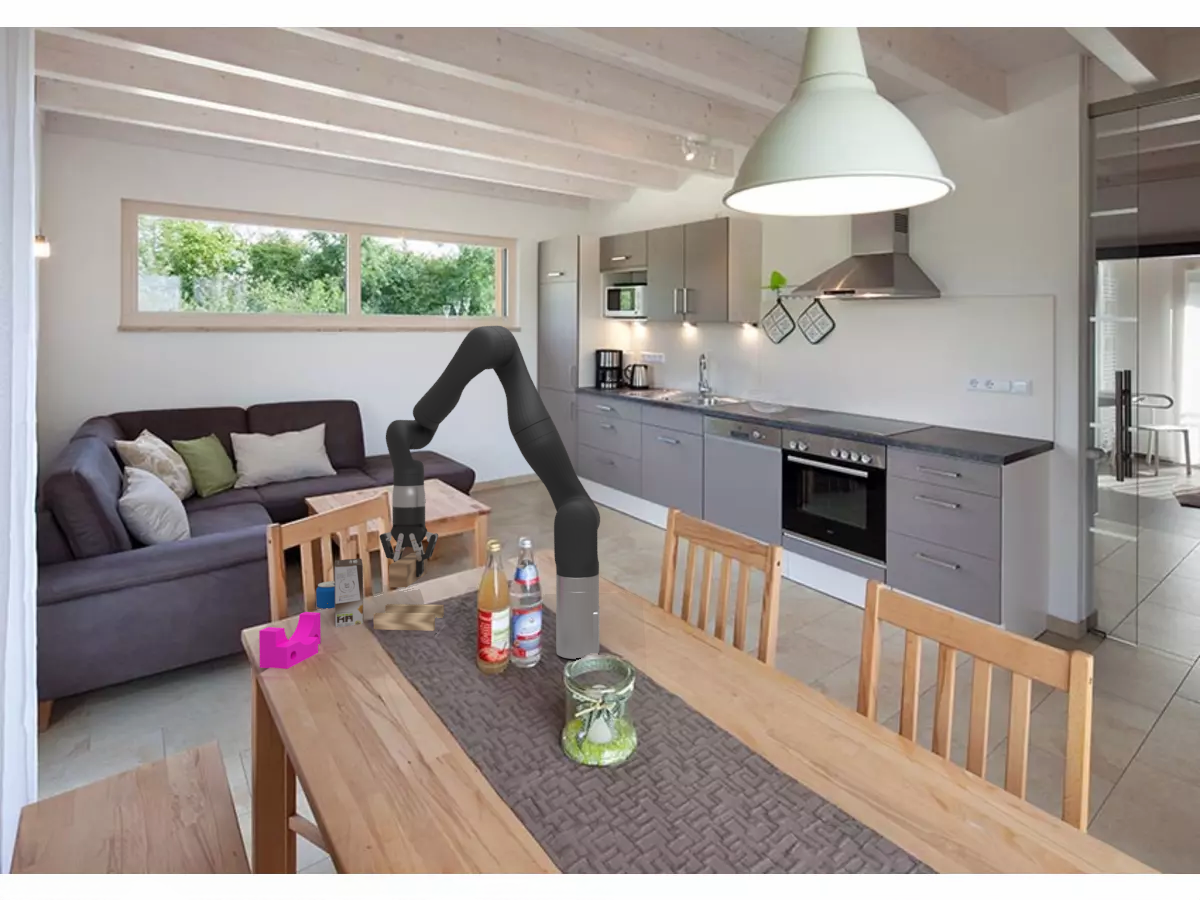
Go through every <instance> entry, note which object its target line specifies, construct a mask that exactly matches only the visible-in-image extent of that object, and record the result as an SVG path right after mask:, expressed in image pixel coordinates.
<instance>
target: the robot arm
mask: <svg viewBox="0 0 1200 900" xmlns="http://www.w3.org/2000/svg"><path fill="white" fill-rule="evenodd" d="M492 369H493V371H494V373H495V375H496V376H497V378H498V380H499V382H500V384H501V385H502V386H501V387H502V389H503V391H504V393H505V399H506V408H507V409H506V411H507V421H508V427H509V430H510V433H511V435H512V437H513V439H514V441H515V444H516V445H517V448H518V449H519V451H520V453H521V455H522V457H523V458H524V460H525V462H526V463H527V464H528V466H530V468H531V469H532V471H533V472H534V473H535V475H536V476H537V477H538V478H539V479H540V480H541V482H542V484H543V485H544V486H545V488H546V490H547V491H548V494H549V496H550V497H551V500H552V503H553V505H554V509H555V510H556V514H555V516H554V520H553V521H554V523H553V548H554V550H553V551H554V554H553V555H554V556H553V557H554V563H555V569H556V570H555V573H556V574H555V579H556V580H555V582H556V583H555V584H556V585H555V586H556V587H555V589H556V590H555V591H556V592H555V593H556V595H555V599H556V601H555V605H556V606H555V607H556V609H555V615H556V616H555V618H556V620H555V625H556V627H555V633H556V634H555V635H556V636H555V638H556V639H555V640H556V641H555V647H556V651H555V652H556V655H557V656H559V657H562V658H564V659H571V660H577V659H576V658H579V657H582V656H584V655H586V654H590V653H599V654H600V598H599V597H600V592H599V591H600V562H599V555H598V530H599V527H600V523H601V515H600V511H599V509H598V507H597V506H596V504H595V502H594V501H593V499H592V498H591V497H590V495H589V493H588V492H587V491H586V489H585V487H584V485H583V484H582V481H580V479H579V477H578V475H577V473H576V471H575V469H574V467H573V464H572V462H571V459H570V455H569V454H568V451H567V449H566V446H565V445H564V442H563V440H562V437H561V435H560V433H559V431H558V428H557V427H556V425H555V422H554V421H553V419H552V417H551V415H550V414H549V411H548V410H547V408H546V406H545V404H544V402H543V400H542V398H541V395H540V394H539V392H538V389H537V387H536V385H535V383H534V382H533V380H532V377H531V375H530V372H529V370H528V367H527V365H526V362H525V359H524V356H523V353H522V351H521V348H520V346H519V343H518V341H517V339H516V337H515V336H514V334H513V333H512V331H510V329H508V328H507V327H504V326H502V325H486V326H485V325H483V326H477V327H475V328H473V329H471V330H470V331H469V332H468V333H467V334H466V336H465V337H464V338H463V340H462V342H461V343H460V345H459V347H458V348H457V350H456V351H455V353H454V355H453V356H452V358H451V359H450V361H449V362H448V364H447V365H446V367H445V369H444V370H443V372H442V373H441V375H440V376H439V377H438V378H437V380H436V381H435V382H434V383H433V384H432V385H431V387H430V388H429V389H428V390H427V391H426V392H425V393H424V394H423V396H422V397H421V398H420V399H419V400H418V401H417V402H416V404H415V405H414V406H413V409H412V416H413V418H414V419H395V420H393V421H391V422H390V423H389V424H388V426H387V429H386V432H385V442H386V446H387V450H388V451H387V452H388V454H389V456H390V461H391V465H392V469H393V470H392V471H393V472H392V473H393V477H392V478H393V480H392V481H393V484H392V485H393V488H392V497H391V498H392V500H391V501H392V511H391V512H392V528H391V530H390V531H388V532H384V533H381V534H380V535H379V540H380V542H381V545H382V548H383V552H384V555H385V557H386V558H387V559H391V560H392V561H393V563H394V562H396V561H398V560H399V559H401V558H403V553H404V551H405V549H406V548H412V549H413V553H415V554H416V558H417V561H416V577H420V576H421V575H422V574H423V572H424V560H425V559H427V560H428V559H430V558H431V557H432V556H433V554H434V550H435V547H436V544H437V541H438V538H439V534H438V533H436V532H435V533H433V532H430V531H428V529H427V526H426V502H427V501H426V500H427V499H426V491H425V490H426V489H425V465H424V463H423V461H420V460H418V459H415V458H413V456H412V454H411V450H414V451H415V450H416V451H417V450H421V449H423V448H425V447H427V446H428V445H430V443H432V440H433V438H434V436H435V435H436V433H437V430H438V429H439V426H440V424H441V423H442V422H443V421H444V420H445V419H446V418H447V417H448V416H449V415H450V414H451V412H452V411H453V410H454V409H455V408H456V407H457V405H458V403H459V401H460V399H461V397H462V395H463V394H462V393H463V391H464V389H465V388H466V386H468V384H469V383H470V382H471V381H472V380H473V379H474V378H475V377H477V376H478V375H480V374H481V373H482V372H484V371H485V370H492ZM425 537H426V541H427V542H428V544H427V546H426V551H424V547H423V543H422V542H423V540H424V539H425ZM392 538H393V540H394V541H395V542H396V546H395V549H393V546H392V542H391V541H392ZM424 553H425V554H424Z"/></svg>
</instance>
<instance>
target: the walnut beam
mask: <svg viewBox="0 0 1200 900" xmlns="http://www.w3.org/2000/svg"><path fill="white" fill-rule="evenodd" d="M424 554H425V552H424ZM416 561H417V558H416V554H415V552H411V553H409V554H407V555H404V556H402V558H401V559H399V560H398V561H396V562H394V561H393V562H392V563H391V564H388V587H389V588H407V587H409V586H410V585H412V584H414V583H415V582H416V581H418V580H420V579H421V578H423V577H424V576H425V575H427V574H428V559H425V560H424V572H423V574H422V575H421V576H420V577H416Z"/></svg>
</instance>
